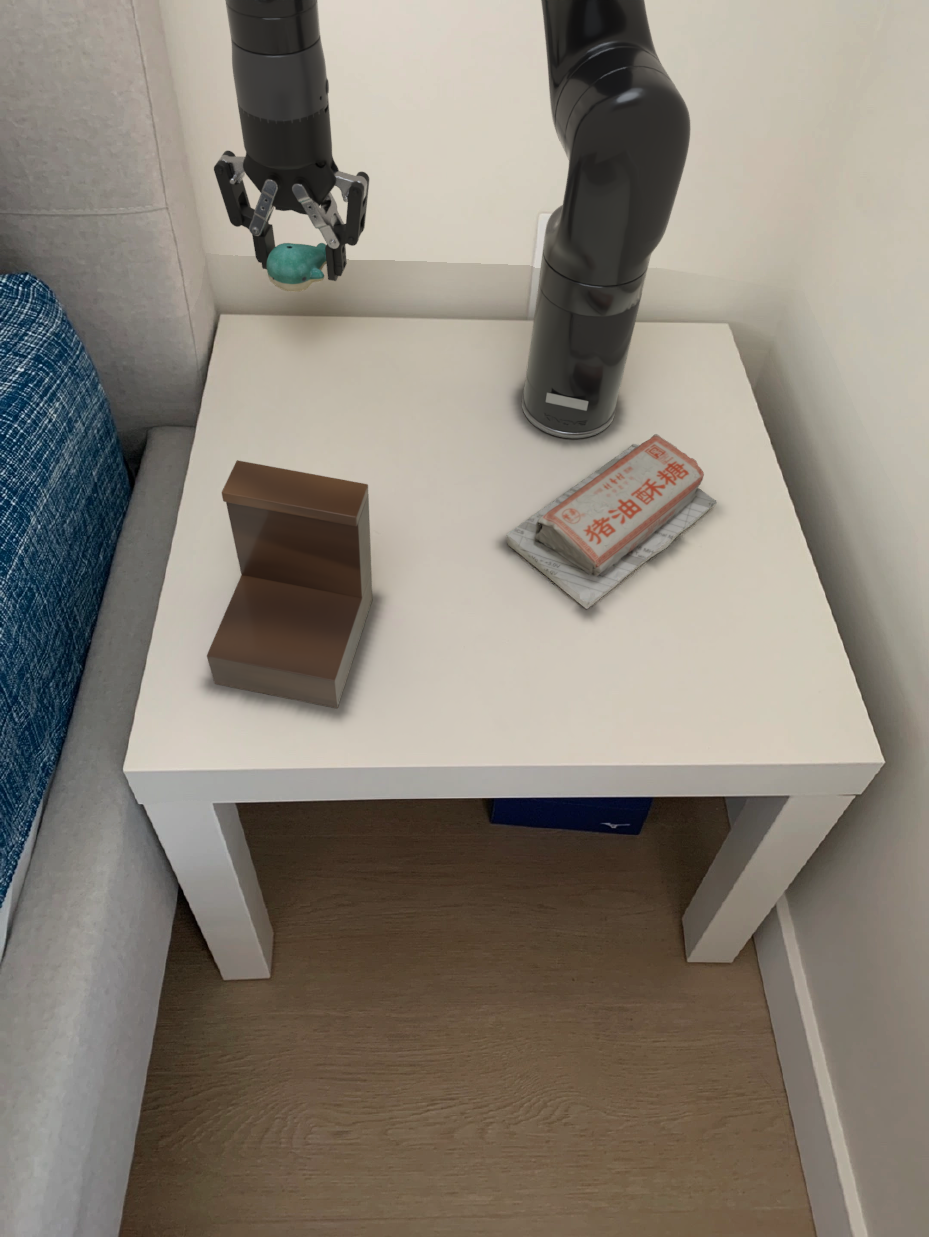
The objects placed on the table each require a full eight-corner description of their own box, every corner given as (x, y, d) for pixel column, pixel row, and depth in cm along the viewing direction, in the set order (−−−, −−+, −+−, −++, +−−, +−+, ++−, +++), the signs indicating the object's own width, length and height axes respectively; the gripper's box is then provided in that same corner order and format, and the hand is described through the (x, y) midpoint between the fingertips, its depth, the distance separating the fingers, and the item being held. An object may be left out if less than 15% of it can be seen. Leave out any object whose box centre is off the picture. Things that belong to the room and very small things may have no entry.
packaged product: (643, 414, 91) (728, 473, 87) (633, 452, 95) (714, 509, 91) (508, 509, 83) (595, 578, 79) (503, 546, 87) (586, 613, 83)
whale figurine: (255, 277, 95) (250, 241, 92) (315, 248, 98) (312, 213, 95) (292, 305, 92) (288, 270, 89) (352, 275, 95) (350, 240, 92)
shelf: (258, 577, 83) (236, 459, 72) (372, 599, 83) (368, 483, 71) (214, 683, 77) (182, 572, 66) (337, 708, 76) (326, 600, 65)
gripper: (182, 103, 79) (218, 281, 93) (353, 128, 78) (363, 306, 92) (216, 60, 84) (245, 237, 97) (378, 84, 82) (384, 260, 96)
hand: (302, 270), depth 94 cm, fingers closed on whale figurine, 6 cm apart
